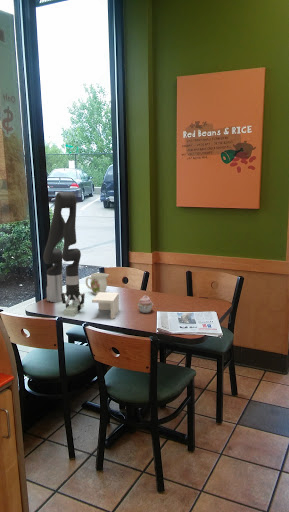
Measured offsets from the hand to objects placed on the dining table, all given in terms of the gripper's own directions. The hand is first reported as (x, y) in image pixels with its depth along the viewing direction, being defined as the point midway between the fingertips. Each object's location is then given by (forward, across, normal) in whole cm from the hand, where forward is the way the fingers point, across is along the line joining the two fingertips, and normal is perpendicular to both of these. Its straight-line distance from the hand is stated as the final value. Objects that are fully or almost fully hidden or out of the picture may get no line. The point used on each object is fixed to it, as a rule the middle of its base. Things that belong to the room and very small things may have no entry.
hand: (73, 310), depth 242 cm
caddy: (+1, 0, +2) cm, 2 cm away
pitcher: (+1, +5, +40) cm, 40 cm away
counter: (+1, +20, -1) cm, 20 cm away
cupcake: (+1, +42, +6) cm, 42 cm away
